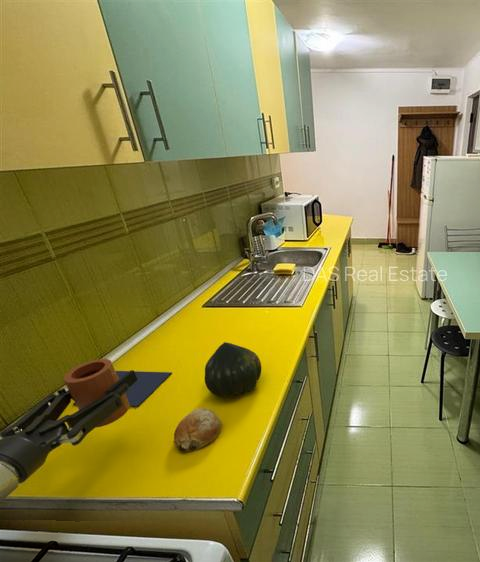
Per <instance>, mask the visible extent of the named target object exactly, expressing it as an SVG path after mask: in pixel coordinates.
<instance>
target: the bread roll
mask: <svg viewBox="0 0 480 562" xmlns="http://www.w3.org/2000/svg"><path fill="white" fill-rule="evenodd" d="M222 423H223V422H222V421H221V420H220V418H219V416H218V414H216V413H215V411H213V410H212V409H211V408H206V407H203V408H196V409H193V410H192V411H190V412H189V413H188V414H187V415H185V416H184V417H183V418H182V419H181V420H180V421H179V423H178V424H177V426H176V427H175V430H174V433H173V443H174V444H175V447H176V448H177V450H178V451H179V452H185V451H186V452H192V451H193V452H194V451H197V450H200V449H202V448H204V447H206V446H207V445H209V444H211V443H212V442H213V441H214V440H215V439H216V438H217V437H218V435H219V434H220V432H221V430H222Z"/></svg>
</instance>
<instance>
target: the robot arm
mask: <svg viewBox="0 0 480 562" xmlns="http://www.w3.org/2000/svg"><path fill="white" fill-rule="evenodd" d="M128 371H129V372H128V373H127V374H126V375H125V376H123V377H122V378H121V379H120V380H119V381H117V382H116V383H115V384H114V385H113V386H112V387H110V388H109V389H108V390H107V391H106V392H107V394H106V395H104V396H102V397H101V398H99V399H97V400H96V401H94V402H92V403H91V404H89V405H87V406H85V407H84V408H82V409H80V410H79V409H78V410H76V411H75V412H73V413H72V414H65V415H64V416H62V414H63V413H64V412H65V410H66V409H67V408H68V406H69V405H70V404H71V402H72V401H73V402H75V401H74V400H73V398H72V396H71V394H70V392H69V390H68V389H67V390H66V389H65V388H61V389H58V390H57V394H56V393H50V394H48V395H47V396H46V397H45V398H43V399H42V400H41V401H40V402H38V403H37V404H36V405H35V406H34V407H32V408H31V409H30V410H28V412H26V413H25V414H24V415H23V416H21V417H20V418H19V419H18V420H16V422H13V424H11V425H10V426H8V427H6V428H5V429H3V430H1V431H0V437H1V438H0V504H1V503H2V502H3V501H4V500H5V499H6V498H8V497H9V496H11V494H12V493H13V492H15V490H17V488H19V485H20V484H23V483H25V482H26V481H27V480H28V479H29V478H31V476H32V475H34V474H35V473H37V471H38V470H39V469H40V468H41V467H43V466H44V464H45V463H46V460H47V458H48V455H49V454H50V453H51V452H53V451H54V450H55V449H57V448H59V447H60V446H62V445H63V444H68V443H70V444H71V445H72V446H74V447H75V446H77V445H79V444H80V443H81V442H82V441H83V440H84V439H85V438H86V436H87V435H88V434H89V433H91V432H92V431H93V430H94V429H95V428H96V429H97V428H98V427H97V426H98V425H99V424H100V423H102V422H103V421H104V420H105V419H107V418H108V417H109V416H110V415H112V414H113V413H114V412H115V411H117V410H118V409H119V408H120V407H121V406H123V403H122V400H121V398H120V397H121V396H122V395H123V394H124V393H125V392H126V391H128V389H129V387H130V386H132V385H133V384H134V383H135V382H136V381H137V380H138V379H137V377H136V374H135V372H134V371H135V370H134V369H133V370H132V369H131V370H128ZM61 416H62V417H61Z"/></svg>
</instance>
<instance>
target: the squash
mask: <svg viewBox="0 0 480 562" xmlns="http://www.w3.org/2000/svg"><path fill="white" fill-rule="evenodd" d="M261 375H262V362H261V360H260V358H259V356H258V355H257V354H256V352H254V351H252V350H251V349H249V348H246V347H243V346H240V345H237V344H234V343H231V342H226V341H224V342H223V343H222V344H220V345H219V346H218V348H217V349H215V351H214V353H212V355H211V356H210V357H209V359H208V360H207V361H206V364H205V365H204V383H205V386H206V388H207V390H208V391H209V392H210V393H211V394H212V395H214V396H216V397H218V398H219V397H220V398H221V397H225V398H231V397H232V396H234V395H240V394H241V393H242V392H246V393H247V392H251V391H253V390H254V389H255V388H256V385H257V382H258V381H259V379H260V378H261Z"/></svg>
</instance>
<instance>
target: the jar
mask: <svg viewBox="0 0 480 562" xmlns="http://www.w3.org/2000/svg"><path fill="white" fill-rule="evenodd" d="M116 371H117V370H116V369H115V366H114V364H113V362H112V360H110V359H108V358H97V359H92V360H89V361H86V362H83V363H81V364H79V365H77V366H75V367H73V368H72V369H70V370H69V371H67V372H66V373H65V375H64V376H63V382H64V385H65V386H66V388H67V390H69V392H70V394H71V396H72V398H73V399H72V401H73V400H74V401H73V402H75V403H76V405H75V406H76V407H77V409H78V411H79V410H80V409H82V408H84V407H85V406H87V405H89V404H91V403H92V402H94V401H96V400H97V399H99V398H101V397H102V396H104V395H106V394H107V392H106V391H107V390H108V389H109V388H110V387H112V386H113V385H114V384H115V383H116V382H117V381H119V378H118V376H117V374H116ZM120 398H121V400H122V403H123V406H121V407H120V408H119V409H118V410H117V411H115V412H114V413H113V414H112V415H110V416H109V417H108V418H107V419H105V420H104V421H103V422H102V423H100V424H99V425H98V426H97V427H96V428H101V427H105V426H108V425H111V424H113V423H114V422H116V421H119V419H121V418H122V417H123V416H125V415H126V414H127V412H128V411H129V410H130V408H131V407H130V405H129V402H128V399H127V397H126V395H125V393H124V394H123V395H122V396H121V397H120Z"/></svg>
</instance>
